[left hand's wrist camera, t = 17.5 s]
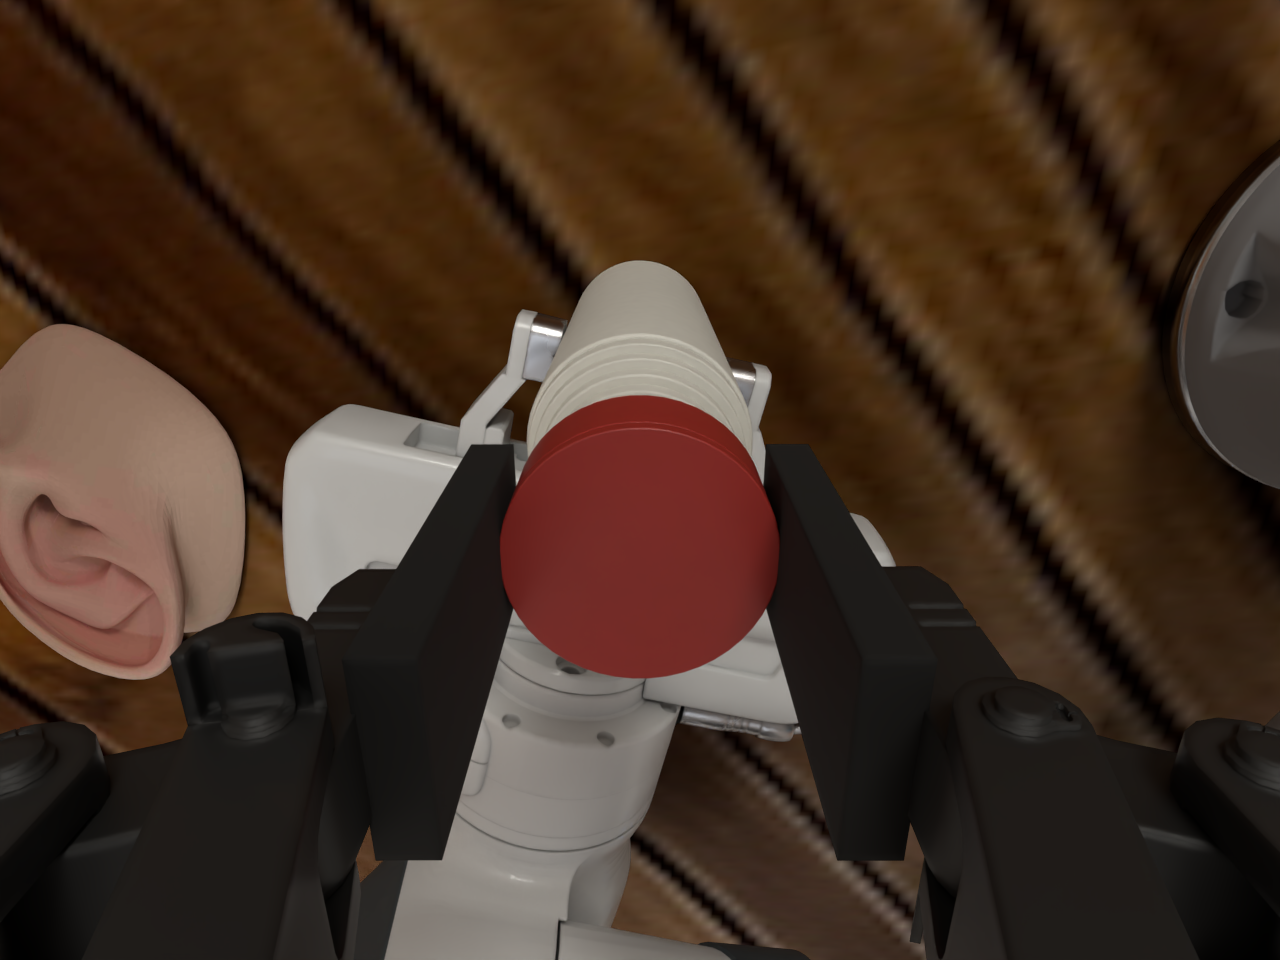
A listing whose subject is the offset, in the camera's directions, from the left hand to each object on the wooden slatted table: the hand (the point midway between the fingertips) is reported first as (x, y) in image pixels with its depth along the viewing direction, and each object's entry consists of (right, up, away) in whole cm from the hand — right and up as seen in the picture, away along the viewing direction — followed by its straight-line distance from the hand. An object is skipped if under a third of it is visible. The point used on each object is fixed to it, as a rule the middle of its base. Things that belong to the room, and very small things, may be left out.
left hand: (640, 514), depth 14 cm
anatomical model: (-22, 0, +19) cm, 29 cm away
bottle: (0, +7, +16) cm, 18 cm away
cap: (0, -1, -1) cm, 2 cm away
